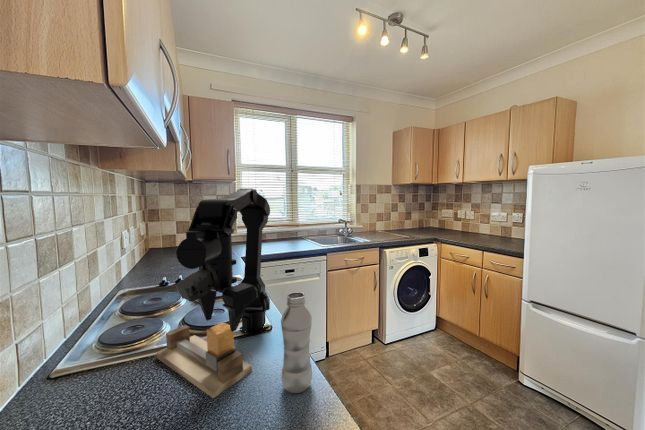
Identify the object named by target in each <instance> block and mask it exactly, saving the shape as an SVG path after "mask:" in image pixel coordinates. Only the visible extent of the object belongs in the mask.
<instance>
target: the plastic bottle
mask: <svg viewBox="0 0 645 430" xmlns="http://www.w3.org/2000/svg"><path fill="white" fill-rule="evenodd" d="M305 297H306V296H305V293H304V292H300V291H295V292H290V293H288V294H287V295H286V306H287V308H286V309H285V310H284V312H283V314H282V315H281V319H280V323H281V324H280V326H281V333H282V338H283V364H282V368H281V376H280V378H281V382H282V383H281V384H282V386H283V388H284V389H285V390H286V391H287V392H288V393H291V394H300V393H302V392H304V391H306V390H307V389H308V388H309V386H310V385H311V384H312V380H313V367H312V363H311V356H310V354H311V353H310V339H311V338H310V336H311V329H312V324H313V323H312V321H313V319H312V318H313V317H312V314H311V312H310V311H309V309H308V308H307V307H306V306H305V305H306V299H305Z"/></svg>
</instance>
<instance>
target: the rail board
mask: <svg viewBox="0 0 645 430" xmlns="http://www.w3.org/2000/svg"><path fill="white" fill-rule="evenodd" d="M190 335H191V334H190V326H188V325H187V324H185V325H182V326H180V327H177V328H175V329H172V330H170V331H168V332H166V335H165V336H166V337H165V338H166V347H165V348H163V349H161V350H159V351H157V352H156V359H157V360H159V361H160V362H162V363H163V364H165V366H167V367H169V368H170V369H171V370H172V371H174V372H175V373H177V374H178V375H180V376H181V377H183V378H184V379H186V380H187V381H188V382H189V383H190V384H193V385H194V386H195V387H197V388H198V389H199V390H201V391H202V392H203V393H205V394H206V395H208V396H209V397H211V398H212V399H214V398H216V397H217V396H219V395H221V394H222V393H223V392H224V391H226V390H228V389H229V388H230V387H231V386H233V385H235V384H236V383H237V382H239V381H241V379H243V378H245V377H246V376H247V375H249V374H250V373H251V372H253V365H252V364H251V363H250V362H247V361H245V360H243V359H244V357H243V356H244V355H243V353H242V352H240V351H238V350H236V352H234V353H232V354H231V355H229V356H227V357H225V358H224V359H222V360H220V361H219V362H217V370H218V371H217V372H216V371H215V370H213V369H212V368H210V367H208V366H207V365H206V352H207V351H208V349H207V340H205V339H203V338H201V337H199V336H198V335H195V334H194V335H192V336H190Z"/></svg>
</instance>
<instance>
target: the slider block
mask: <svg viewBox="0 0 645 430" xmlns="http://www.w3.org/2000/svg"><path fill="white" fill-rule="evenodd" d="M234 332H235V331H233V332H232V331H231V328H230V324H228V323H225V322H220V323H218V324H216V325H214V326H211V327H209V328H207V329H206V341H207V349H208V351H207V352H206V365H207V366H208V367H210V368H212V369H213V370H215V371H216V372H217V371H218V370H217V362H219V361H220V360H222V359H224V358H225V357H227V356H229V355H231V354H232V353H234V352H236V351H237V348H236V347H237V346H235V339H234V338H235V337H234V336H235V335H234V334H235V333H234Z"/></svg>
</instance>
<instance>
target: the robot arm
mask: <svg viewBox="0 0 645 430" xmlns="http://www.w3.org/2000/svg"><path fill="white" fill-rule="evenodd" d="M238 213H239V214H240V216H241V221H242V223H243V225H244V226H245V228H246V235H245V239H246V240H245V254H244V255H245V256H244V258H245V259H244V275H243V276H244V277H243V278H242V280H241V282H240V283H238V284H236V285H233V284H235V283H237V282H238V280H237V279H238V278H237V277H235V276H234V275H233V274H234V273H233V266H235V265H237V259H233V248H232V247H233V244H232V234H234V232H235V231H234V229H233V226H234V223H235V221H237V219H238ZM270 214H271V206H270V204H269V202H268V200H267V198H265V197H263V196H262V195H261V194H259V193H258V192H257V189H256V188H249V187H248V188H239V189H237V190H236V191H233V192H232V193H229V194H228V195H226V196H224V197H221V198H207V199H206V198H205V199H202V200H200V201H199V202H198V204H197V206H196V208H195V211H194V214H193V217H192V220H191V221H190V222H191V223H190V225H189V228H188V230H187V231H186V233H185V235H186V236H185V239H183V240H182V241H180V243H179V244H178V246H177V249H176V251H175V252H176V253H175V255H176V258H177V261H178V262H179V264H180V265H181V266H182V267H184V268H186V269H190V270H195V269H197V268H198V270H197V271H195V272H193V273H191V274H189V275H188V276H186V277H185V278H183V279H181V280H180V281H178V282H177V283H176V284H175V286H176V289H177V292H178V293H179V296H180V297H181V299H183V300H186V301H188V302H189V303H191V302H195V301H198V304H199V305H200V308H201V311H202V314H203V316H204V318H205V320H206V321H207V322H208V321H210V320H212V317H213V313H214V309H215V304H216V299H217V292H218V293H221V299H222V302H223V304H222V306H223V308H225V309H227V312H228V313H227V314H228V321H229V325H230V328H231V331H232V332H233V331H234V332H235V331H237V329H238V326H239V325H240V323H241V326H240V327H239V330H240V329H242V330H243V332H244V331H246V332H245V333H246V334H249V335H251V336H255V335H257V334H258V333H260V332H262V331H264V330H266V329H267V328H266V327H264V328H263V326H264V324H265V323H266V312H267V311H269V310H270V308H271V307H270V306H271V305H270V304H271V302H270V300H271V299H270V297H269V296H268V294H267V292H266V284H265V283H264V281H263V279H262V277H261V273H262V272H261V269H262V267H261V265H262V246H263V243H262V242H263V230H264V228H265V227H266V226H267V224H268V222H269V216H270ZM265 328H266V329H265ZM242 330H241V331H242Z"/></svg>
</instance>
